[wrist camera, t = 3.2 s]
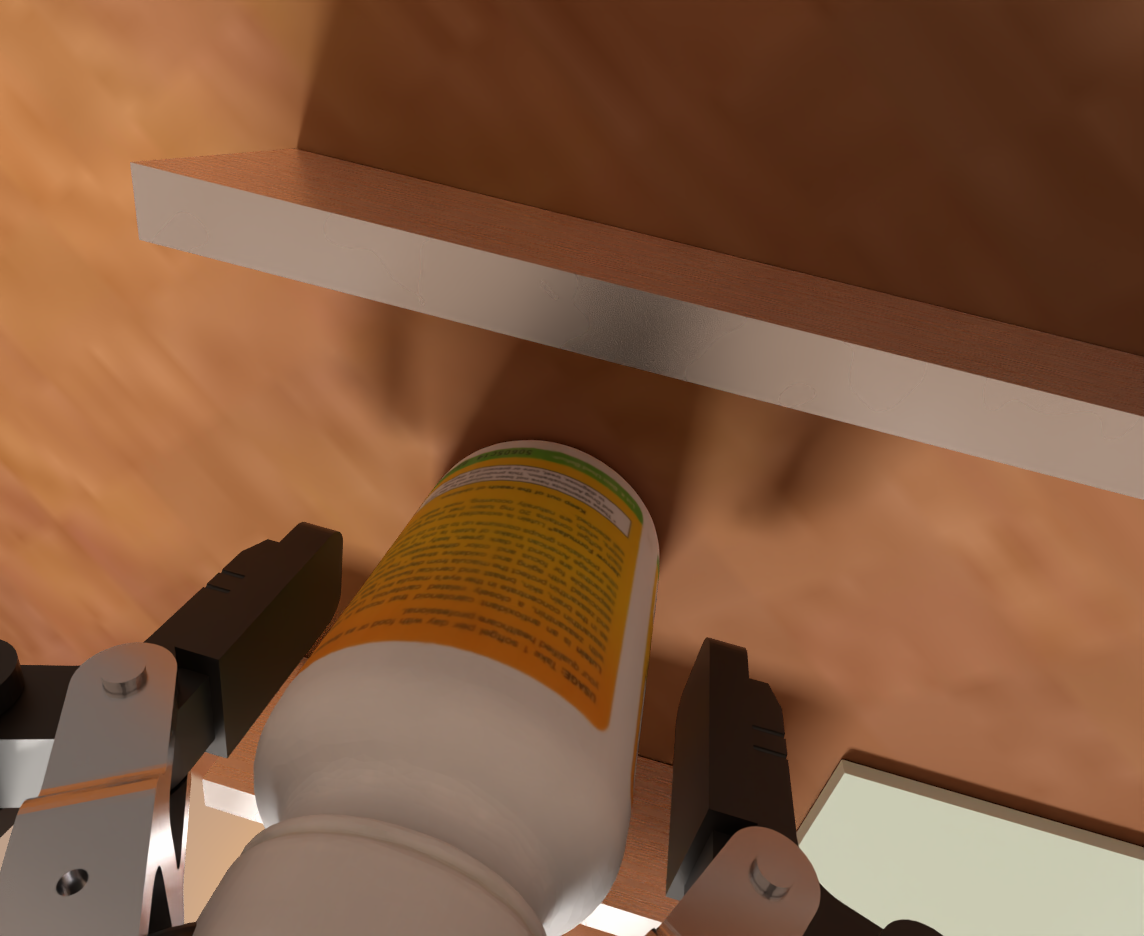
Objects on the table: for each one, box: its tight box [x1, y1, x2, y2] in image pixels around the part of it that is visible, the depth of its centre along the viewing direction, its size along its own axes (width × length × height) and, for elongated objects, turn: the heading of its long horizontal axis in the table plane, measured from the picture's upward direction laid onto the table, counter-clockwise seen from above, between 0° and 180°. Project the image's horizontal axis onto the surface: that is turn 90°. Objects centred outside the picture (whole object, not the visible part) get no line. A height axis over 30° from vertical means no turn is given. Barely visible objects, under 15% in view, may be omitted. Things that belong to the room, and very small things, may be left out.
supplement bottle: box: [193, 440, 659, 936], centre depth 11 cm, size 5×5×10 cm
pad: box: [796, 760, 1144, 936], centre depth 18 cm, size 7×9×1 cm
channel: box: [130, 148, 1144, 936], centre depth 14 cm, size 18×26×4 cm
